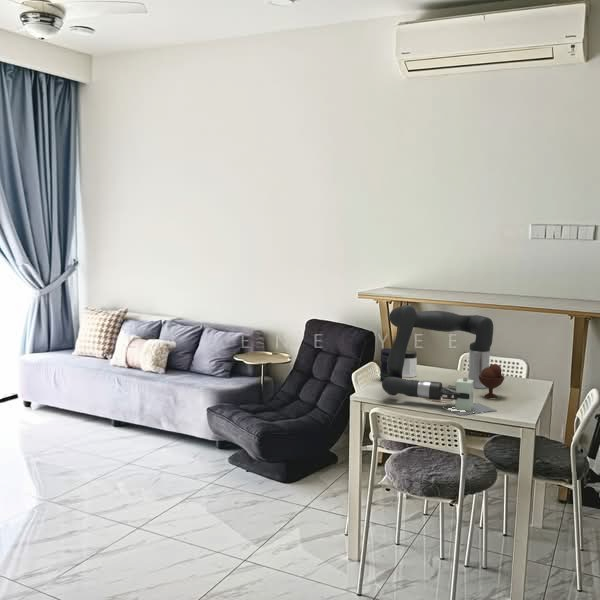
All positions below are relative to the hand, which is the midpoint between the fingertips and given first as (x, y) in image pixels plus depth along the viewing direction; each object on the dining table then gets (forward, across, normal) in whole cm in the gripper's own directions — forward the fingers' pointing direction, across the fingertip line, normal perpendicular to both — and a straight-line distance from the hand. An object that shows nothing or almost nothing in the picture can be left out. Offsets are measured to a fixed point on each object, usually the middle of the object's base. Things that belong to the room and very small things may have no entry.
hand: (470, 394), depth 277 cm
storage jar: (-43, +35, +7) cm, 55 cm away
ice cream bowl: (+5, +25, +7) cm, 26 cm away
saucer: (-15, +13, +6) cm, 21 cm away
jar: (-38, +50, +7) cm, 63 cm away
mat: (0, +1, +6) cm, 7 cm away
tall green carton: (-2, 0, +6) cm, 7 cm away
